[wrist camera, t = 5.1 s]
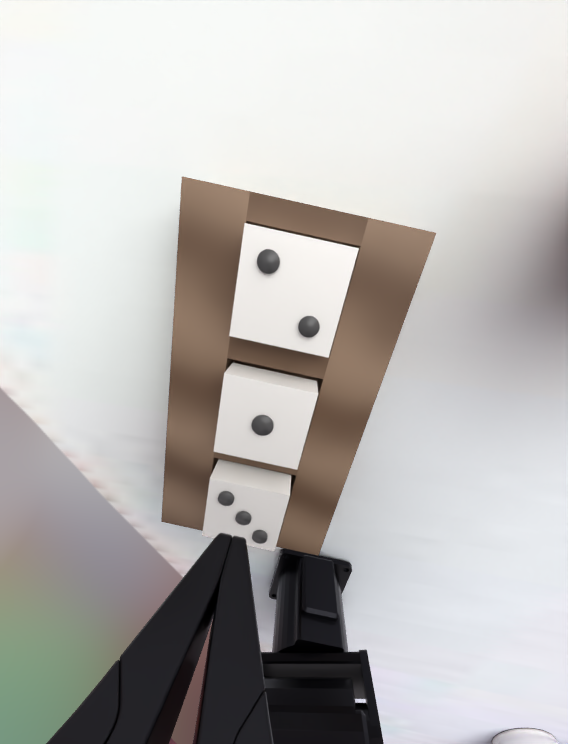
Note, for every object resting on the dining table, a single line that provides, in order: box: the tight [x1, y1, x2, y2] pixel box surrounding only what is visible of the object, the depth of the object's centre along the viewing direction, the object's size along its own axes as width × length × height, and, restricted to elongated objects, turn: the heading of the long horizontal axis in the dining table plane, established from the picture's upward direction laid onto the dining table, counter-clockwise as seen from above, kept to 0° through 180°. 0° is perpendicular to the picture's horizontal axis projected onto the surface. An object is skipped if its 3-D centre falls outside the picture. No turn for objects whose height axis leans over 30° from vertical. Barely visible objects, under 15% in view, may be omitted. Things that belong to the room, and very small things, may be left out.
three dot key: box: [202, 459, 291, 551], centre depth 18 cm, size 5×5×2 cm
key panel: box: [162, 177, 436, 555], centre depth 17 cm, size 22×12×3 cm, turn 168°
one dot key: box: [214, 363, 318, 470], centre depth 15 cm, size 5×5×2 cm
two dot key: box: [229, 223, 359, 358], centre depth 13 cm, size 5×5×2 cm
